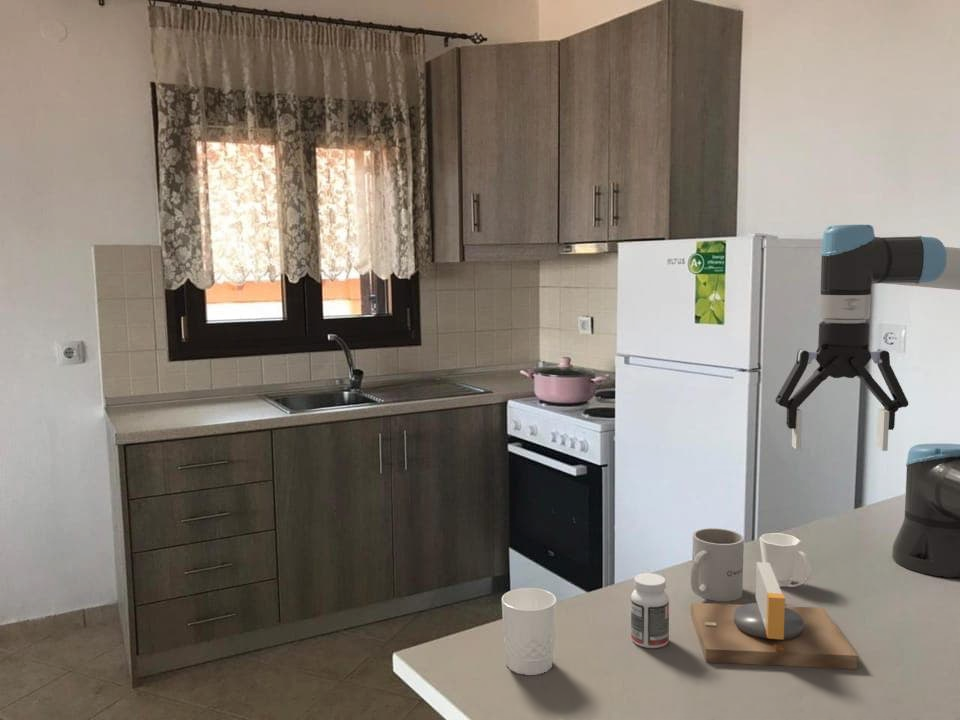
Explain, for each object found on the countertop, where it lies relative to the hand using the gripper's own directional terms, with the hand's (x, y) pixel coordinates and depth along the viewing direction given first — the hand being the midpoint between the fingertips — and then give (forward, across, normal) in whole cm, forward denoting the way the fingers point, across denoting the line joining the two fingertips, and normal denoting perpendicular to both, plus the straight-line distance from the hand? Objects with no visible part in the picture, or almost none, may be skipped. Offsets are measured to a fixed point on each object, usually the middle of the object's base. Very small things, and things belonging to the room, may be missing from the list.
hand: (838, 448), depth 133 cm
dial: (+24, -14, -15) cm, 32 cm away
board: (+27, -14, -15) cm, 34 cm away
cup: (+27, -6, +7) cm, 28 cm away
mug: (+27, -20, +2) cm, 34 cm away
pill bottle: (+27, -32, -17) cm, 45 cm away
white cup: (+27, -50, -26) cm, 62 cm away
